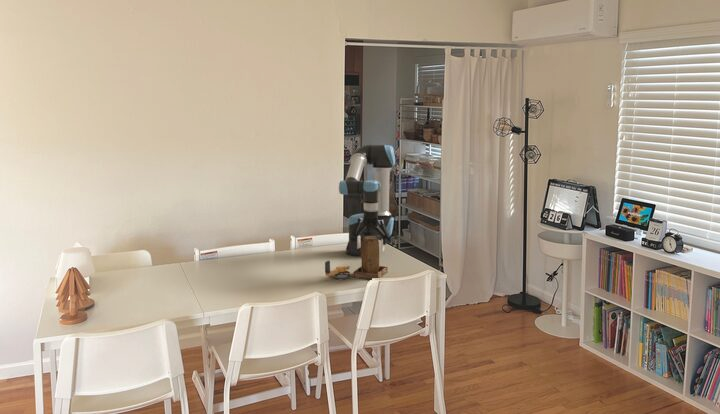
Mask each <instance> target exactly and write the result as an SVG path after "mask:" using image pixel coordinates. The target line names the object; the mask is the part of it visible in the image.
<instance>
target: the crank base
mask: <svg viewBox="0 0 720 414" xmlns="http://www.w3.org/2000/svg"><path fill="white" fill-rule="evenodd" d="M330 277H332V278H331V279H333V280H338V279H343V280H347V278H348V279H349V277H350V278H351V272H350V271H348V270H345V272H339V273H337V274H334V275H331V276H330Z"/></svg>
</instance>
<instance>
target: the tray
mask: <svg viewBox="0 0 720 414" xmlns="http://www.w3.org/2000/svg"><path fill="white" fill-rule="evenodd" d="M387 273H388V266H383V265H379V271H378V274H371V273H363V271H362V265H361V266H359V267H358V268H357V269H355V270H354V271H353V272H352V275H353V278H355V277H359V278H358V279H363V278H366V280H371V279H372V278H380V277H381V278H383V276H385V275H386V274H387ZM381 278H380V279H381Z"/></svg>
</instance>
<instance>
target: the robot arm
mask: <svg viewBox="0 0 720 414" xmlns="http://www.w3.org/2000/svg"><path fill="white" fill-rule="evenodd" d="M367 165H369V166H371V165H372V169H373V170H374V179H367V180H364V181H363V180H361V176H362V173H363V170H364V168H365V167H366V166H367ZM395 165H396V157H395V149H394V147H393V145H391V144H390V145H388V144H366V145H363V146H360V147H359V148H357V149H356V150H355V151H354V152H353V153H352V154H351V156H350V165H349V168H348V171H347V174H346V177H345V180H340V181H339V183H338V191H339V195H346V196H363V213H356V214H353V215H351V216H349V218H348V241H347V244H346V247H345V254H347V255H350V256H355V257H356V256H357V257H361V242H362V239H363V238H364V237H366V236H375V237H380V238H381V240H380V242H381V243H380V244H381V245H380V248H381V250H380V251H381V252H384V251H385V246H386V245H387V239H389V238H390V237H391V235H392V233H393V229H394V223H395V222H394V221H395V218H394V217H392V213H391V212H390V171H391V170H392V169H393V166H395Z"/></svg>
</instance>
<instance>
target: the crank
mask: <svg viewBox="0 0 720 414" xmlns="http://www.w3.org/2000/svg"><path fill="white" fill-rule="evenodd" d="M350 269H351V268H350V265H344V266H336V267H335V268H334V269H331V261H330V260H327V261H324V270H325V271H324V273H325V276H326V277H331V275H334V274H337V273H339V272H345V271H348V270H350Z"/></svg>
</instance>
